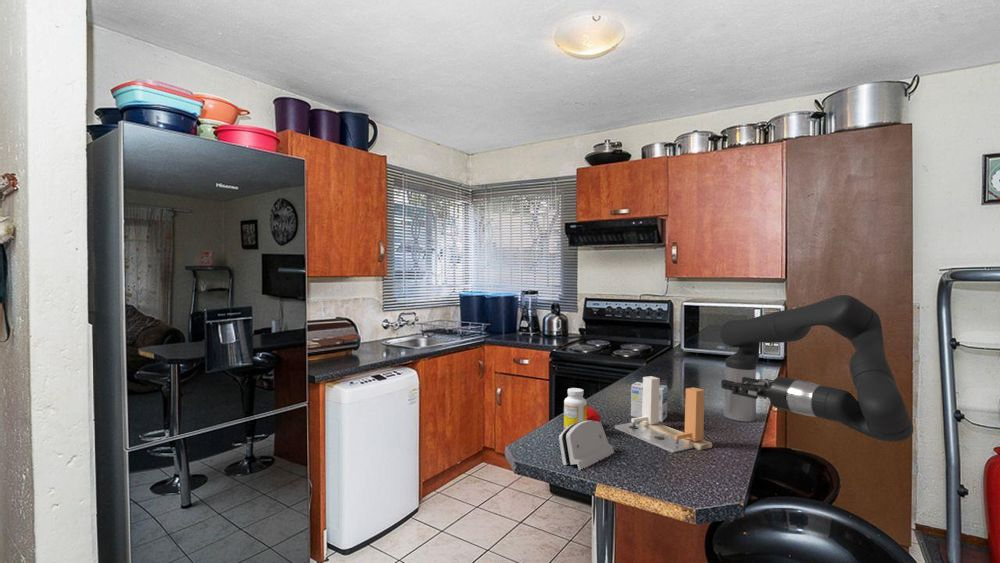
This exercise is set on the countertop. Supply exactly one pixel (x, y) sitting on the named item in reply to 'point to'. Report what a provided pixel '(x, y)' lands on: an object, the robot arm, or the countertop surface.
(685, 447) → the bolt plate
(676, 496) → the countertop surface
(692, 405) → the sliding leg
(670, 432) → the rail
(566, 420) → the supplement bottle
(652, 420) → the fixed leg
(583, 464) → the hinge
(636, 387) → the light bulb box
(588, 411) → the cap
